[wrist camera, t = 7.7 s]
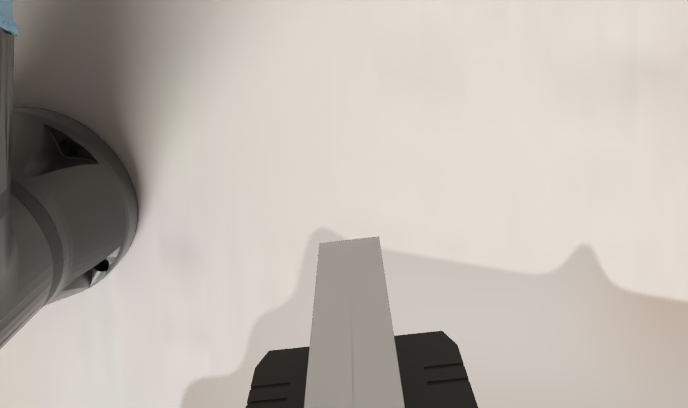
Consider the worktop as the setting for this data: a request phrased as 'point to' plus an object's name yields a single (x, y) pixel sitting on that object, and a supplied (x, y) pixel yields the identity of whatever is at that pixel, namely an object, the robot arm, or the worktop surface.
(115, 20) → the worktop surface
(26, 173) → the robot arm
